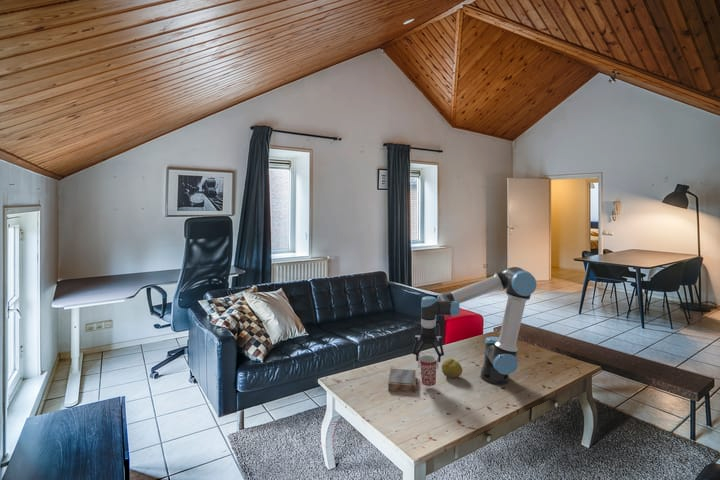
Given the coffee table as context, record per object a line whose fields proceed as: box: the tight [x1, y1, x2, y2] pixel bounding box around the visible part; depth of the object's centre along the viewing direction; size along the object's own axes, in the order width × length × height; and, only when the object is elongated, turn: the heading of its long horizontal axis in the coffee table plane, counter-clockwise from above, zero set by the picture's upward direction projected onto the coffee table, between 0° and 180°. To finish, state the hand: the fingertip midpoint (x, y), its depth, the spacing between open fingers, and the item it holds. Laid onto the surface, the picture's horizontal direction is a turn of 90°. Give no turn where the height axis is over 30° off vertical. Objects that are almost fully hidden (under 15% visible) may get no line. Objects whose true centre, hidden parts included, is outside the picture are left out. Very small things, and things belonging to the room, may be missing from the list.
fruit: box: [441, 358, 463, 379], centre depth 216 cm, size 11×12×10 cm
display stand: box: [387, 368, 416, 394], centre depth 208 cm, size 14×18×4 cm
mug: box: [420, 354, 437, 387], centre depth 205 cm, size 13×9×14 cm
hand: (428, 367), depth 205 cm, fingers closed on mug, 9 cm apart
